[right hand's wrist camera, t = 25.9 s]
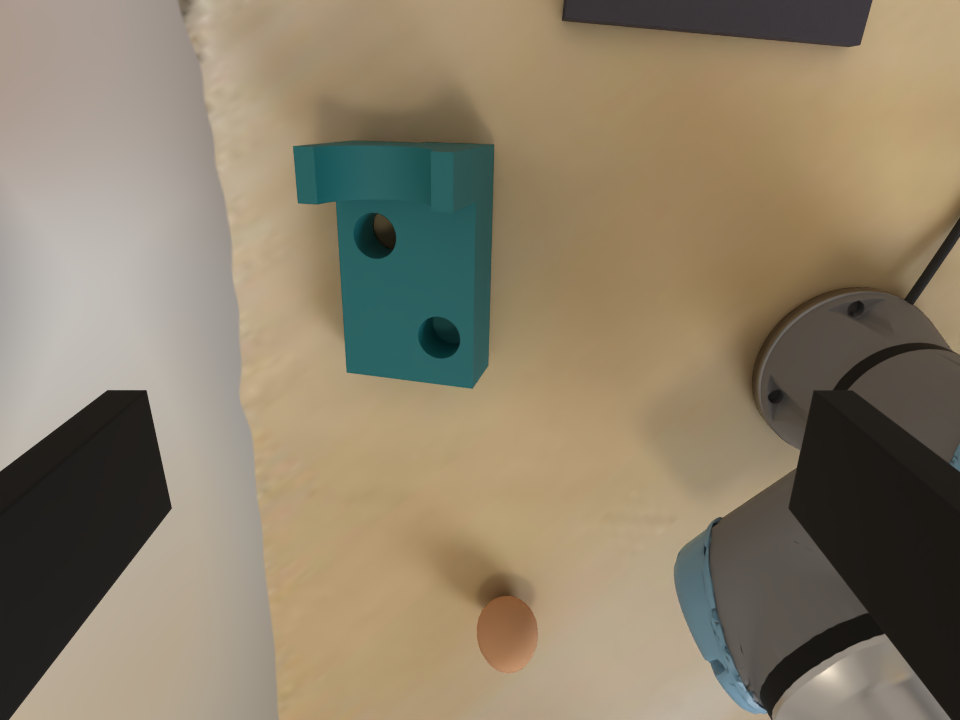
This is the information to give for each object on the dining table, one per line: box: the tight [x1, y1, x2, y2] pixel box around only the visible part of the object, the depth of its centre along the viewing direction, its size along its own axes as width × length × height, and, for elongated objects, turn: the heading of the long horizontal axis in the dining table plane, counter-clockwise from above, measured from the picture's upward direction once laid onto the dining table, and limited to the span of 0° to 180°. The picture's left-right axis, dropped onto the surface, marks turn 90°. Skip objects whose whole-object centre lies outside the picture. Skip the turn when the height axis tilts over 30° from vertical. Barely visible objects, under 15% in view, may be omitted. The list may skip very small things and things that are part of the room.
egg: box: [477, 596, 538, 673], centre depth 62 cm, size 6×6×8 cm
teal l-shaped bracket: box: [293, 141, 494, 389], centre depth 48 cm, size 18×11×10 cm, turn 179°
